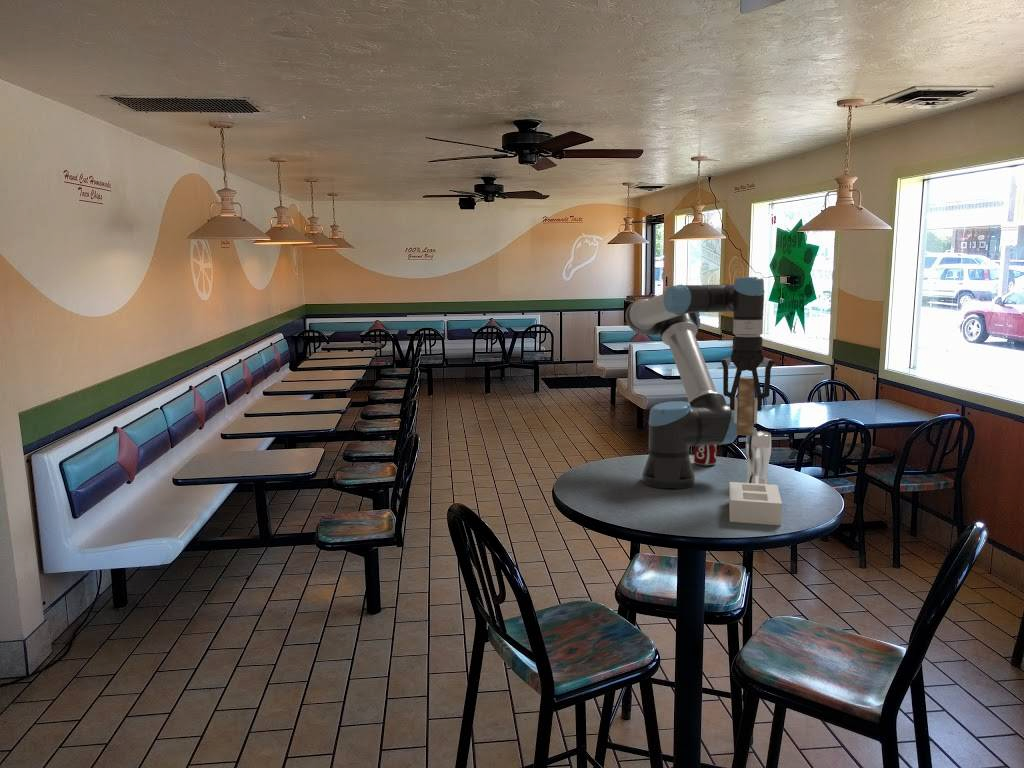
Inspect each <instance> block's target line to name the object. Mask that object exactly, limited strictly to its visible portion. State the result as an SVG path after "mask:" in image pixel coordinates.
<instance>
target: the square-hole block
mask: <svg viewBox="0 0 1024 768" xmlns="http://www.w3.org/2000/svg"><path fill="white" fill-rule="evenodd" d="M728 496H729V497H728V509H729V511H728V512H729V522H730V523H743V524H757V525H767V526H768V525H771V526H782V515H783V514H782V513H783V502H782V498H781V494H780V490H779V487H778V484H769V483H768V484H756V483H746V482H738V481H736V482H735V481H729V493H728Z"/></svg>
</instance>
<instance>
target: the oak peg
mask: <svg viewBox="0 0 1024 768" xmlns="http://www.w3.org/2000/svg"><path fill="white" fill-rule="evenodd" d="M755 393H756V389H755V383H754V379H753V377H740V379H739V384H738V387H737V391H736V395H737V396H736V398H737V399H738V408H737V429H736V434H738V435H739V436H746V437H747V436H750V435H753V432H754V431H755V430H754V425H755V424H754V399H755V398H756V397H755ZM738 435H737V436H738Z"/></svg>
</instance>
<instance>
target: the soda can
mask: <svg viewBox="0 0 1024 768" xmlns="http://www.w3.org/2000/svg"><path fill="white" fill-rule="evenodd" d="M717 446H718V445H702V446H694V456H693V458H694V459H693V460H694V461H693V462H694V463H695V464H697V465H698V466H700V465H701V467H710V466H709V465H712V466H713V465H715V464H717Z"/></svg>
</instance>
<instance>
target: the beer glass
mask: <svg viewBox="0 0 1024 768" xmlns="http://www.w3.org/2000/svg"><path fill="white" fill-rule="evenodd" d="M771 454H772V434H771V432H768V431H763V430H762V431H760V430H754V432H753V435H750V436H746V440H745V457H746V465H747V475H746V482H745V483H756V484H769V481H768V467H769V464H770V459H771Z"/></svg>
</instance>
